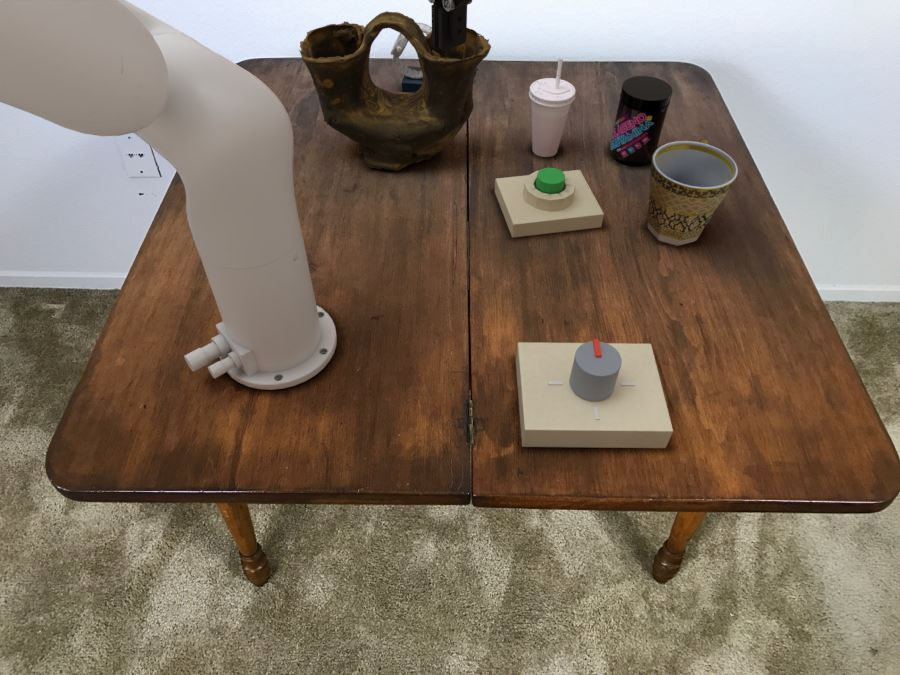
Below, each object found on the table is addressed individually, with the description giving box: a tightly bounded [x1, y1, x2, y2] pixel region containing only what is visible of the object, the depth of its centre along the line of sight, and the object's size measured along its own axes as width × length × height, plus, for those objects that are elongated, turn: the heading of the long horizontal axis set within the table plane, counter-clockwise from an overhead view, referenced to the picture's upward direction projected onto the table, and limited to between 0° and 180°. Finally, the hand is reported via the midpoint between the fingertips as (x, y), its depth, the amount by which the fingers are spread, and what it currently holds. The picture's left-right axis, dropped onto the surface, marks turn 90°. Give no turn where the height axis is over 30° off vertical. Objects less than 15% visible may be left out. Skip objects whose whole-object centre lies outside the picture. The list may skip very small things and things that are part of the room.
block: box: [494, 169, 605, 238], centre depth 89 cm, size 12×10×4 cm
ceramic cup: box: [646, 138, 739, 247], centre depth 85 cm, size 13×10×10 cm
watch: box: [390, 22, 432, 93], centre depth 107 cm, size 6×8×11 cm
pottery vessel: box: [298, 10, 492, 172], centre depth 92 cm, size 25×11×20 cm, turn 86°
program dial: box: [569, 338, 622, 401], centre depth 66 cm, size 4×4×4 cm
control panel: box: [515, 341, 674, 449], centre depth 68 cm, size 14×11×3 cm
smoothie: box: [528, 57, 576, 158], centre depth 95 cm, size 6×6×14 cm
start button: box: [536, 167, 565, 194], centre depth 87 cm, size 4×4×2 cm
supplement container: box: [609, 75, 674, 167], centre depth 96 cm, size 7×7×10 cm
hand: (449, 44), depth 68 cm, fingers closed
